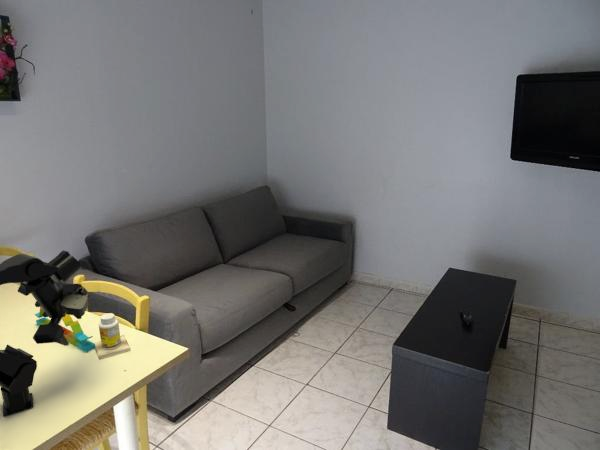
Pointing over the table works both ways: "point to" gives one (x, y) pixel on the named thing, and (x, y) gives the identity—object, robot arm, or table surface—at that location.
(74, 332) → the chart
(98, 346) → the wooden pad
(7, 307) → the table surface
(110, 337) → the supplement bottle
